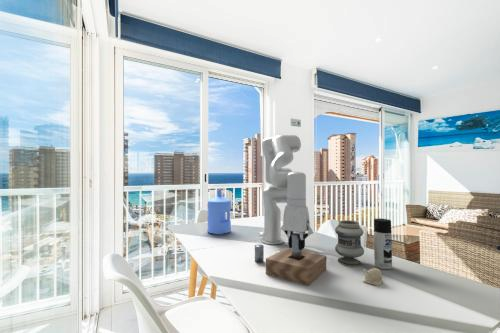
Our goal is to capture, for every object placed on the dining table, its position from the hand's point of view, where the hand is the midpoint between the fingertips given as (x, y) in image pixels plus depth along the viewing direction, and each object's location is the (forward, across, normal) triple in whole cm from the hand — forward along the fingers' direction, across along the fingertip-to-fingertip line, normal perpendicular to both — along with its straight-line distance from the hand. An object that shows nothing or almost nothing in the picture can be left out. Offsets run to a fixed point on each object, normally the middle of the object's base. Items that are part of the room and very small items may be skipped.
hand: (296, 247), depth 103 cm
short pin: (+10, -19, +1) cm, 21 cm away
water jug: (+10, -72, +31) cm, 79 cm away
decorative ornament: (+10, +27, +8) cm, 30 cm away
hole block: (+10, 0, 0) cm, 10 cm away
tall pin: (+8, 0, 0) cm, 8 cm away
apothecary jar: (+10, +14, +24) cm, 29 cm away
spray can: (+10, +27, +27) cm, 39 cm away
